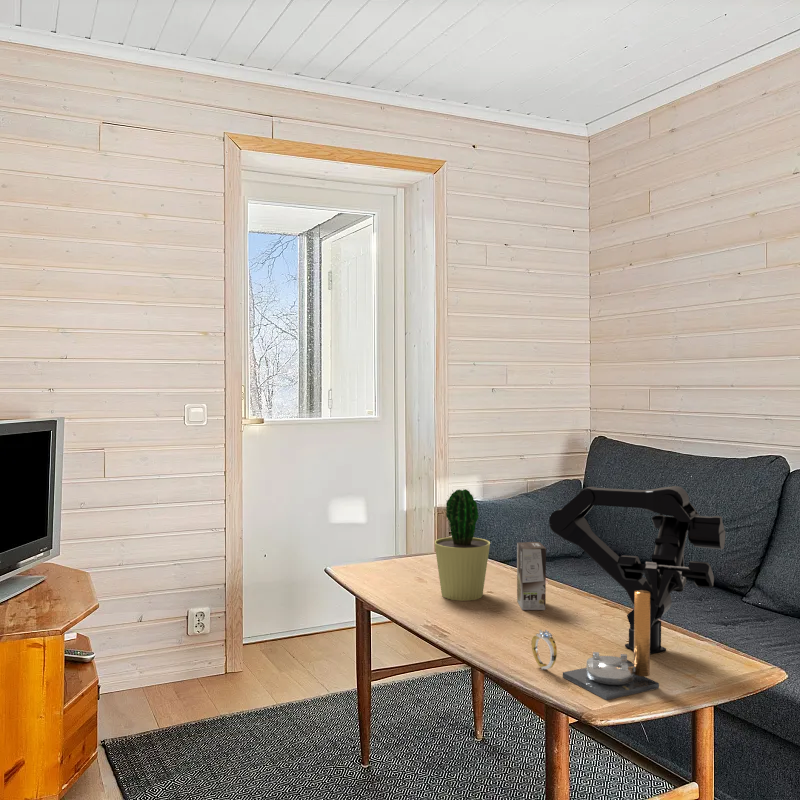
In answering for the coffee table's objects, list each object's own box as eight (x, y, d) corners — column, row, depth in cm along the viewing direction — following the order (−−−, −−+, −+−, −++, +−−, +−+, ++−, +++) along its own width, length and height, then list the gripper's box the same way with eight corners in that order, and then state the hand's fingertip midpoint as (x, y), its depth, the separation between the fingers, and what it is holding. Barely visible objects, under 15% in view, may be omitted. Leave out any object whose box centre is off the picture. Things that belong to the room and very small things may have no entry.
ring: (559, 673, 165) (560, 634, 165) (546, 675, 164) (546, 636, 164) (541, 662, 172) (541, 625, 172) (528, 664, 171) (528, 626, 171)
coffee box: (546, 610, 211) (546, 548, 210) (521, 610, 211) (521, 548, 210) (540, 600, 220) (540, 541, 219) (516, 600, 220) (516, 541, 219)
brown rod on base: (586, 682, 157) (586, 594, 157) (586, 666, 166) (587, 583, 165) (651, 687, 154) (652, 598, 154) (648, 671, 163) (648, 586, 163)
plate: (613, 667, 169) (613, 661, 169) (658, 688, 158) (658, 682, 158) (562, 677, 163) (562, 671, 163) (606, 700, 152) (606, 694, 152)
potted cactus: (489, 588, 232) (490, 483, 232) (490, 603, 217) (490, 491, 216) (435, 587, 234) (435, 483, 233) (432, 602, 219) (432, 490, 218)
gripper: (723, 568, 175) (712, 633, 165) (636, 560, 185) (622, 621, 176) (713, 537, 168) (702, 603, 159) (624, 531, 178) (608, 593, 169)
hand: (657, 606), depth 166 cm, fingers closed
